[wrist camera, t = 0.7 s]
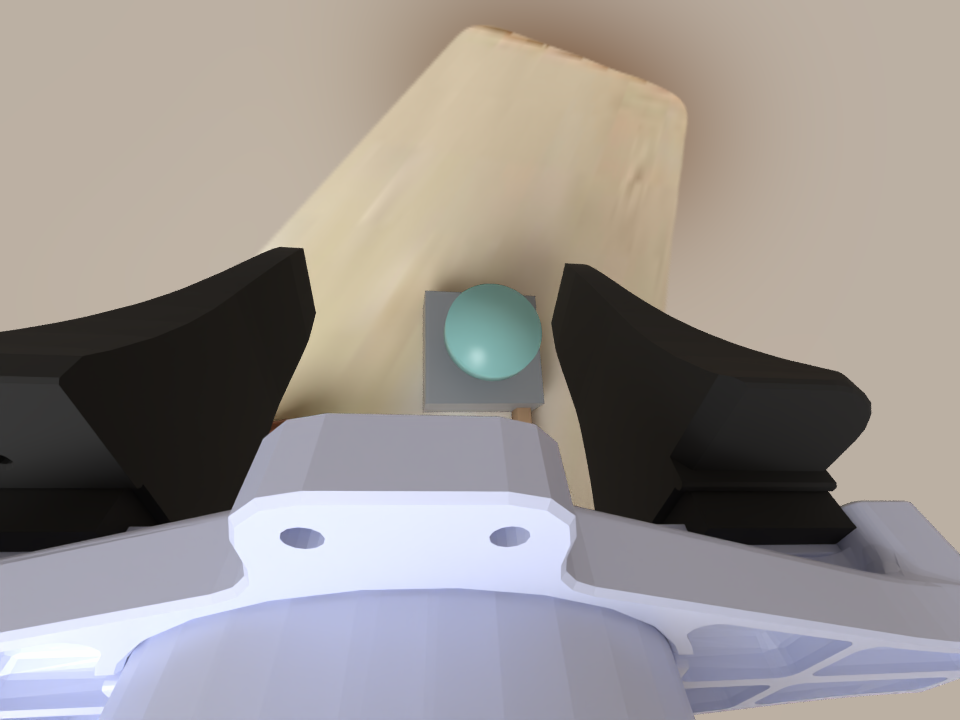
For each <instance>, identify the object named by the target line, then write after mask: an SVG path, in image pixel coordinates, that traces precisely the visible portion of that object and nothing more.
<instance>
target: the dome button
mask: <svg viewBox="0 0 960 720" xmlns="http://www.w3.org/2000/svg"><path fill="white" fill-rule="evenodd" d="M541 338H542V328H541V323H540V319H539V317H538V314H537V312H536V310H535V309H534V307H533V306H532V304H531V303H530V302H529V301H528V300H527V299H526V298H525V297H524V296H523V295H522V294H520V293H519V292H517V291H515V290H513V289H511V288H509V287H506V286H503V285H499V284H481V285H477V286H474V287H471V288H469V289H467V290H466V291H464V292H463V293H461V294H460V295H459V296H458V297H457V298H456V299H455V300H454V302H453V303H452V305H451V307H450V309H449V311H448V314H447V318H446V321H445V326H444V343H445V347H446V349H447V352H448V354H449V356H450V358H451V359H452V361H453V362H454V363H455V364H456V365H457V366H458V367H459V368H460V369H461V370H462V371H463V372H465V373H466V374H468V375H470V376H472V377H474V378H477V379H480V380H485V381H501V380H505V379H508V378H511V377H513V376H515V375H516V374H518V373H519V372H521V371H522V370H523V369H524V368H525V367H526V366H527V365H528V364H529V363H530V362H531V361H532V360H533V358H534V357H535V355H536V354H537V352H538V350H539V347H540V344H541Z"/></svg>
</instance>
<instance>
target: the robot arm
mask: <svg viewBox="0 0 960 720" xmlns="http://www.w3.org/2000/svg"><path fill="white" fill-rule="evenodd" d="M315 314H316V311H315V306H314V301H313V296H312V291H311V286H310V280H309V275H308V270H307V265H306V260H305V255H304V249H303V248H288V247H278V248H274V249H271V250H269V251H266V252H264V253H262V254H259V255H257V256H255V257H253V258H251V259H249V260H247V261H244V262H242V263H240V264H238V265H236V266H234V267H232V268H229V269H227V270H225V271H223V272H221V273H219V274H216V275H214V276H212V277H209V278H207V279H204V280H202V281H200V282H197V283H195V284H193V285H190V286H188V287H186V288H183V289H180V290H178V291H175V292H172V293H170V294H166V295H163V296H160V297H157V298H154V299H151V300H148V301H145V302H142V303H138V304H135V305H131V306H127V307H123V308H119V309H115V310H111V311H107V312H103V313H99V314H95V315H91V316H87V317H83V318H78V319H73V320H68V321H63V322H58V323H52V324H47V325H42V326H35V327H29V328H23V329H17V330H10V331H3V332H0V720H695V717H694V715H696V714H704V713H713V712H721V711H729V710H737V709H746V708H754V707H762V706H770V705H779V704H787V703H796V702H805V701H814V700H824V699H834V698H845V697H857V696H868V695H883V694H899V693H916V692H923V691H926V690H928V689H931V688H934V687H937V686H940V685H943V684H945V683H948V682H951V681H954V680H957V679H960V554H959V553H958V552H957V551H956V550H955V549H954V547H953V546H952V545H951V544H950V543H949V542H948V541H947V540H946V539H945V538H944V537H943V536H942V535H941V534H940V533H939V532H938V531H937V530H936V529H935V527H934V526H933V525H932V524H931V523H930V522H929V521H928V520H927V519H926V518H925V517H924V516H923V515H922V514H921V513H920V512H919V511H918V510H917V508H916V507H915V506H914V505H913V504H912V503H911V502H907V501H855V502H850V503H847V504H845V505H842V506H839V505H838V503H837V502H836V501H835V500H834V498H833V497H832V496H831V494H830V493H829V492H828V491H833V490H834V489H836V487H837V485H836V482H835V480H834V479H833V478H832V477H831V476H830V474H829V473H828V472H827V471H826V469H827V468H828V467H829V466H830V465H831V464H832V463H833V462H834V461H835V460H836V459H837V458H838V457H839V456H840V455H841V454H842V453H843V452H844V451H845V450H846V449H847V448H848V447H849V446H850V445H851V444H852V443H853V442H855V440H856V439H857V438H858V437H859V436H860V434H861V433H862V432H863V431H864V430H865V428H866V426H867V423H868V421H869V419H870V416H871V402H870V401H869V399H868V398H867V396H866V395H865V393H864V392H862V391H861V390H860V389H859V388H858V387H857V386H856V385H855V384H854V383H853V382H851V381H850V380H849V379H848V378H847V377H846V376H845V375H843V374H842V373H840V372H837V371H833V370H829V369H824V368H820V367H816V366H811V365H807V364H803V363H799V362H794V361H790V360H786V359H782V358H778V357H775V356H772V355H768V354H765V353H762V352H758V351H755V350H752V349H749V348H746V347H742V346H739V345H737V344H734V343H731V342H728V341H726V340H723V339H721V338H718V337H715V336H713V335H710V334H708V333H705V332H703V331H701V330H698V329H696V328H694V327H691V326H690V325H687V324H685V323H683V322H681V321H679V320H677V319H675V318H673V317H671V316H669V315H667V314H665V313H664V312H662V311H660V310H658V309H657V308H655V307H653V306H652V305H650V304H648V303H646V302H645V301H643V300H642V299H640V298H638V297H637V296H635V295H634V294H632V293H631V292H629V291H628V290H626V289H625V288H623V287H622V286H620V285H619V284H617V283H616V282H614V281H613V280H611V279H610V278H608V277H607V276H605V275H604V274H602V273H601V272H599V271H598V270H596V269H594V268H592V267H591V266H588V265H585V264H568V263H565V267H564V271H563V276H562V280H561V284H560V288H559V293H558V297H557V301H556V305H555V310H554V314H553V318H552V322H551V324H552V331H553V338H554V343H555V349H556V352H557V356H558V359H559V362H560V365H561V368H562V371H563V374H564V377H565V380H566V383H567V385H568V388H569V391H570V394H571V397H572V400H573V403H574V406H575V409H576V413H577V416H578V420H579V424H580V429H581V433H582V438H583V443H584V448H585V453H586V459H587V464H588V470H589V475H590V481H591V487H592V494H593V500H594V507H595V510H591V509H586V508H582V507H577V506H573V504H572V500H571V496H570V492H569V488H568V484H567V480H566V476H565V472H564V468H563V464H562V460H561V456H560V452H559V448H558V443H557V442H556V441H555V440H553V439H552V438H551V437H550V436H549V435H548V434H546V433H545V432H544V431H543V430H542V429H541V428H539V427H538V426H537V425H535V424H531V423H526V422H522V421H517V420H512V419H508V418H503V417H497V416H449V415H401V414H354V413H325V414H319V415H313V416H307V417H301V418H295V419H289V420H286V421H285V422H283V423H282V424H281V425H280V426H278V427H277V428H276V429H275V430H273V431H272V432H271V433H270V434H269V432H270V429H271V426H272V423H273V420H274V417H275V414H276V411H277V409H278V406H279V404H280V401H281V399H282V397H283V395H284V393H285V391H286V389H287V387H288V384H289V382H290V380H291V378H292V376H293V374H294V372H295V369H296V367H297V365H298V363H299V361H300V359H301V356H302V354H303V352H304V350H305V348H306V345H307V343H308V340H309V337H310V334H311V330H312V326H313V322H314V318H315Z"/></svg>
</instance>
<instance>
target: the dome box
mask: <svg viewBox="0 0 960 720" xmlns="http://www.w3.org/2000/svg"><path fill="white" fill-rule="evenodd" d="M460 294H461V292H441V291H425V297H424V304H423V412H512V411H513V410H514V409H516V408H531V411H533V410H534V409H536V408H538V407H539V406H541V405H542V404H544V393H543V382H542V371H541V359H540V348H539V350H538V352H537V354H536V355H535V357H534V358H533V360H532V361H531V362H530V363H529V364H528V365H527V366H526V367H525V368H524V369H523V370H522V371H521V372H519V373H518V374H516V375H515V376H513V377H511V378H508V379H505V380H501V381H485V380H480V379H477V378H474V377H472V376H470V375H468V374H466V373H465V372H463V371H462V370H461V369H460V368H459V367H458V366H457V365H456V364H455V363H454V362H453V361H452V359H451V358H450V356H449V354H448V352H447V349H446V347H445V343H444V326H445V321H446V318H447V314H448V311H449V309H450V307H451V305H452V303H453V302H454V300H455V299H456V298H457V297H458V296H459V295H460ZM524 297H525V298H526V299H527V300H528V301H529V302H530V303H531V304H532V306H533V307H534V309H535V310H536V302H535V296H524Z"/></svg>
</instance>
